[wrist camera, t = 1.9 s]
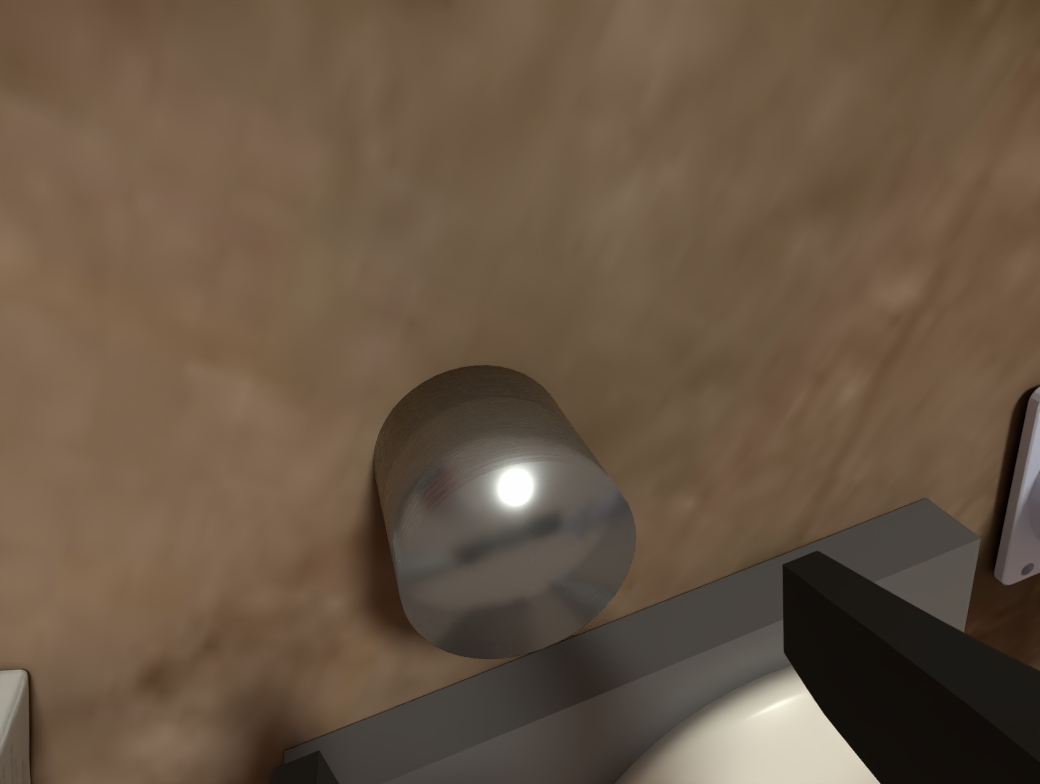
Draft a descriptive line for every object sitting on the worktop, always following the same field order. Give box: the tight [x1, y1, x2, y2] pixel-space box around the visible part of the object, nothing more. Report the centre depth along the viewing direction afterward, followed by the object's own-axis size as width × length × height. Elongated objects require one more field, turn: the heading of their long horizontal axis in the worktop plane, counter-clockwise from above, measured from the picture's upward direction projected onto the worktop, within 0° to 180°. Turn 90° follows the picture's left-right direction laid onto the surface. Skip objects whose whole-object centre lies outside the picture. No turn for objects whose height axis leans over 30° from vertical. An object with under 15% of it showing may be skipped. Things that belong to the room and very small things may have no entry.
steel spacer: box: [374, 365, 636, 659], centre depth 15 cm, size 4×4×4 cm
